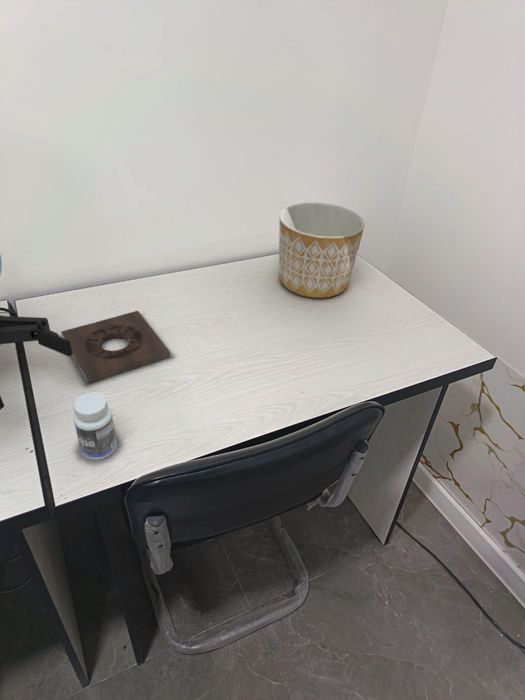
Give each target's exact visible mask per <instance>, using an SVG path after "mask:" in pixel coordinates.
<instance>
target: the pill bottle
mask: <svg viewBox="0 0 525 700" xmlns="http://www.w3.org/2000/svg"><path fill="white" fill-rule="evenodd" d="M73 410H74V411H73V412H74V415H73V424H74V428H75V432H76V436H77V440H78V444H79V448H80V451H81V453H82V455H83V456H84V457H85V458H87V459H89V460H102V459H105V458H107V457H109V456H110V455H112V454H113V453H114V452H115V451H116V449H117V446H118V445H117V444H118V441H117V434H116V428H115V424H114V423H115V422H114V418H113V412H112V409H111V408H110V407H109V405H108V399H107V398H106V396H105V395H104V394H102V393H100V392H95V391H91V392H86V393H85V392H84V393H83V394H80V395H79V396H78V397H77V398H75V400H74V402H73Z"/></svg>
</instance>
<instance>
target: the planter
mask: <svg viewBox="0 0 525 700" xmlns="http://www.w3.org/2000/svg"><path fill="white" fill-rule="evenodd" d="M365 224H366V223H365V221H364V219H363V218H362V216H360V215H359V214H358V213H356V212H355V211H353V210H351V209H348V208H346V207H343V206H340V205H337V204H331V203H324V202H303V203H295V204H293V205H292V204H291V205H289V206H287V207H285V208H284V209H282V210H281V212H280V213H279V225H278V226H279V230H278V231H279V233H278V234H279V235H278V236H279V237H278V277H279V280H280V282H281V283H282V285H283V286H284V287H285V288H286V289H288V290H289V291H291V292H292V293H294V294H296V295H299V296H303V297H305V298H311V299H312V298H314V299H323V298H324V299H325V298H332V297H334V296H337V295H339V294H341V293H342V292H344V291H345V290H346V289H347V287H348V286H349V284H350V280H351V277H352V273H353V269H354V265H355V262H356V258H357V256H358V251H359V247H360V244H361V241H362V237H363V233H364V229H365V226H366V225H365Z"/></svg>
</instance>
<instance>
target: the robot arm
mask: <svg viewBox="0 0 525 700" xmlns="http://www.w3.org/2000/svg"><path fill="white" fill-rule="evenodd" d="M2 263H3V260H2V255H1V254H0V276H2V268H3V266H2V265H3V264H2ZM26 342H37V343H38V345H40V346H43V347H44V348H47V349H50V350H52V351H55V352H57V353H59V354H61V355H64V356H67V357H71V356H72V354H73V353H72V348H71V344H70V341H69V340H66V339H64V338H62V336H60V335H59V333H57V332H55V331H53V330H51V329H50V324H49V319H48V318H47V317H37V316H36V317H35V316H12V315H11V316H10V315H1V314H0V346H1V345H7V344H15V343H26ZM4 407H5V403H4V402H3V398H2V396H1V395H0V410H2V409H3V408H4Z"/></svg>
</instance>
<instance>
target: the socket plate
mask: <svg viewBox="0 0 525 700" xmlns="http://www.w3.org/2000/svg"><path fill="white" fill-rule="evenodd" d="M60 333H61V338H64V339H66V340H69V341H70V344H71V348H72V353H73V354H72V355H71V356H72V358H73V360H74V362H75V364H76V366H77V367H78V369H79V371H80V373H81V375H82V376H83V378H84V380H85V382H86V384H87V385H91V384H95V383H97V382H99V381H102V380H106V379H109V378H111V377H114V376H117V375H118V376H119V375H121V374H124V373H127V372H129V371H133V370H136V369H138V368H139V369H140V368H142V367H146V366H148V365H151V364H154V363H157V362H161V361H163V360H167V359H169V358H171V351H170V349H168V347H167V346H166V345H165V344H164V342H163V341H162V340H161V338H160V337H159V335H158V334H157V333H156V332H155V331H154V329H153V328H152V327H151V325H150V324H149V323H148V322H147V320H146V319H145V317H144V316H143V315H142V314H141V313H140V312H139V311H138V310H134V311H131V312H128V313H123V314H120V315H117V316H113V317H109V318H105V319H102V320H98V321H94V322H92V323H87V324H84V325H80V326H77V327H73V328H69V329H65V330H61V331H60ZM113 339H121V340H125V341H127V342H128V344H127V345H126V346H124V347H123V348H120V349H117V350H108V349H105V348H103V347H101V346H102V345H103V344H104V343H105V342H107V341H110V340H113Z"/></svg>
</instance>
